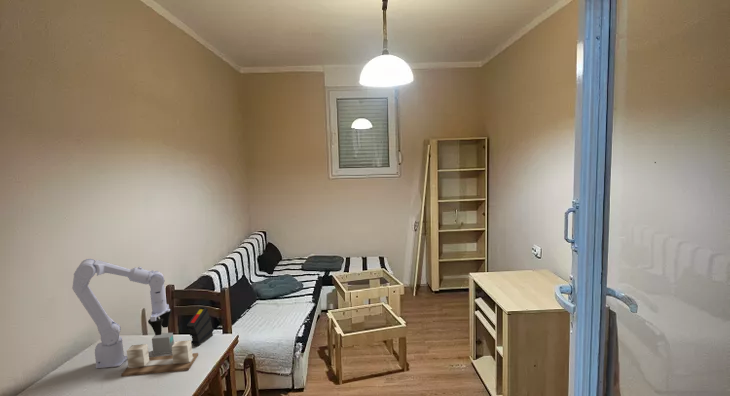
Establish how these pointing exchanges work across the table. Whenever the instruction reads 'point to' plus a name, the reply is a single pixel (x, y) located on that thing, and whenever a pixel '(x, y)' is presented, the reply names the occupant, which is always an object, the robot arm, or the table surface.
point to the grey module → (162, 343)
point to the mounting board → (159, 359)
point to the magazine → (200, 327)
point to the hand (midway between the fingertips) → (162, 330)
